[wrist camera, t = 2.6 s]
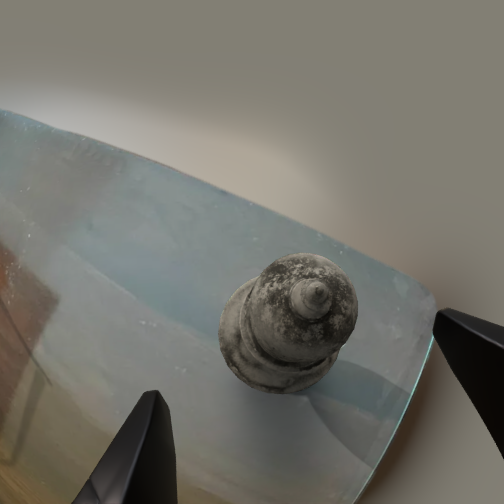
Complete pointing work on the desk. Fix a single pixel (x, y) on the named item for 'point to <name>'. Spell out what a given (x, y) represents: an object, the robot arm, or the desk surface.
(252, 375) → the pewter sugar caster
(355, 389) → the desk surface
